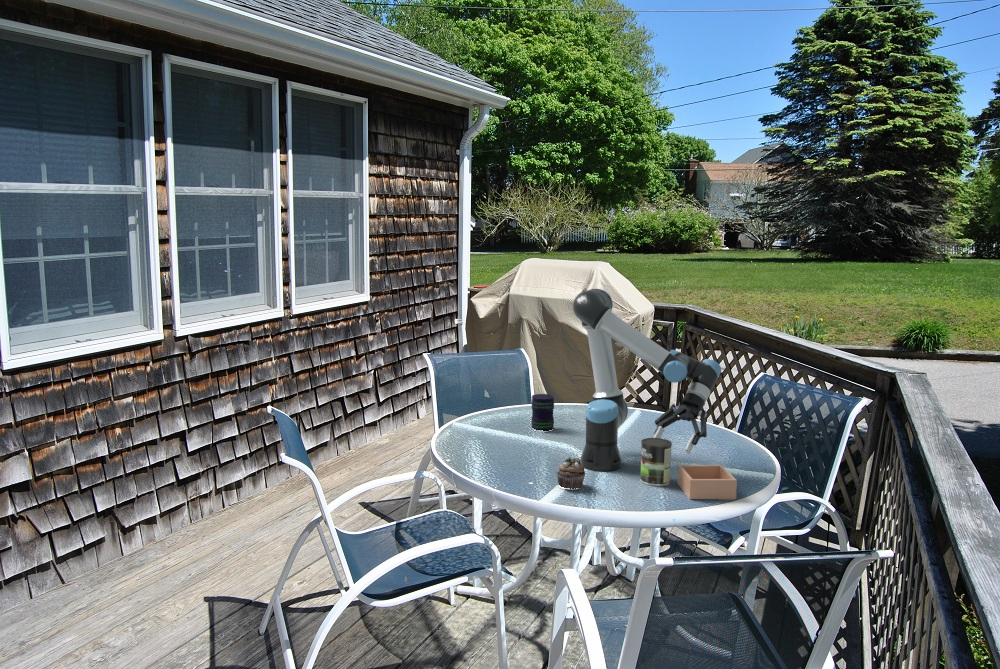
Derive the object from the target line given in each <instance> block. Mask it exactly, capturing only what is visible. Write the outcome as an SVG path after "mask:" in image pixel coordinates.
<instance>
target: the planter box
mask: <svg viewBox="0 0 1000 669" xmlns="http://www.w3.org/2000/svg"><path fill="white" fill-rule="evenodd" d="M676 481H677V482H676V484H677V485H678V487H679V488H680V490H682V492H683V491H684V492H683V493H684V494H685V496H686V495H687V496H686V497H687V499H688V500H690V499H719V500H737V487H738V486H737V483H738V480H737V478H735V477H734V476H733V474H731V473H730V472H729V471H728V470H727V469H726V468H725V467H724V466H723V465H722V464H719V465H717V464H715V465H712V464H703V465H702V464H695V465H693V464H691V465H690V464H689V465H688V464H683V465H682V464H681V465H680V464H678V465H677V480H676ZM719 500H718V501H719Z"/></svg>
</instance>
